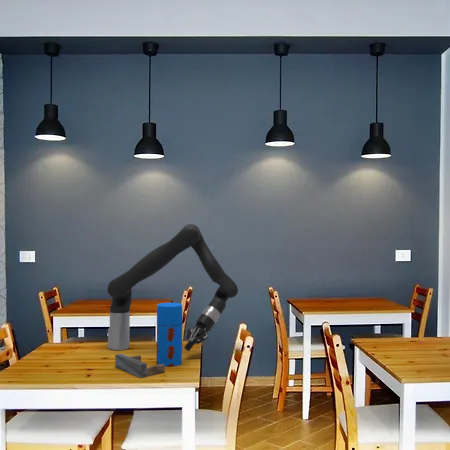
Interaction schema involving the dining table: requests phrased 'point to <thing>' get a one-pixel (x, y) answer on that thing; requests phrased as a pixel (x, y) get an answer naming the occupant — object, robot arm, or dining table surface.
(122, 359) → the bay
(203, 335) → the robot arm
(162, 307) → the thermos
